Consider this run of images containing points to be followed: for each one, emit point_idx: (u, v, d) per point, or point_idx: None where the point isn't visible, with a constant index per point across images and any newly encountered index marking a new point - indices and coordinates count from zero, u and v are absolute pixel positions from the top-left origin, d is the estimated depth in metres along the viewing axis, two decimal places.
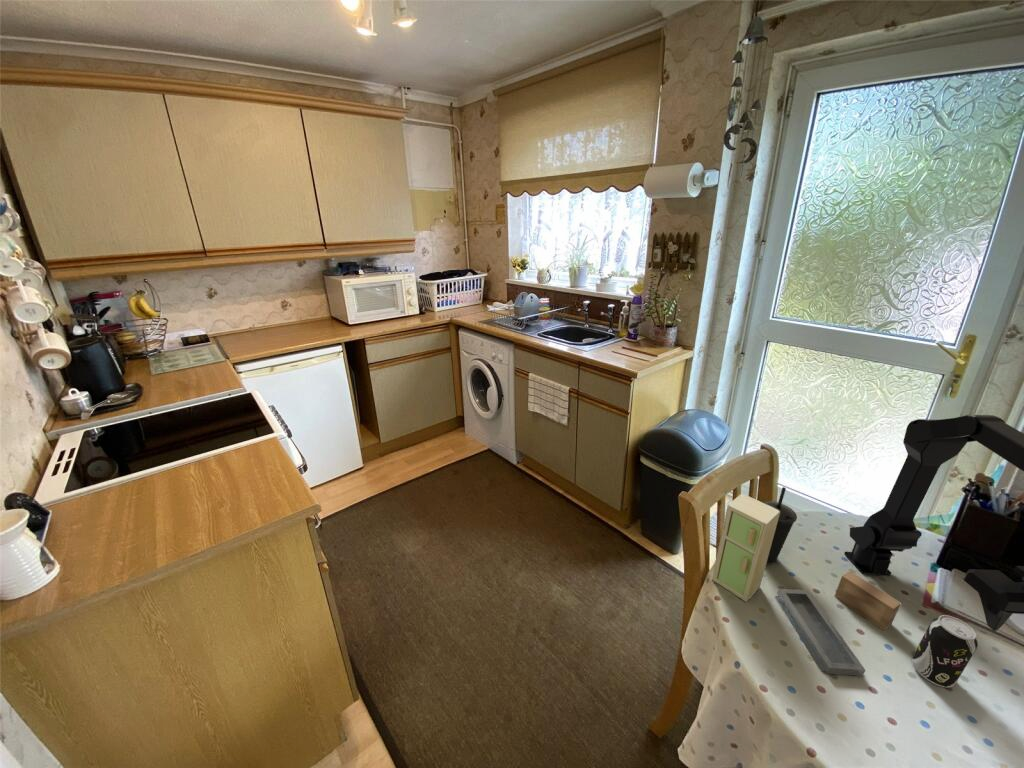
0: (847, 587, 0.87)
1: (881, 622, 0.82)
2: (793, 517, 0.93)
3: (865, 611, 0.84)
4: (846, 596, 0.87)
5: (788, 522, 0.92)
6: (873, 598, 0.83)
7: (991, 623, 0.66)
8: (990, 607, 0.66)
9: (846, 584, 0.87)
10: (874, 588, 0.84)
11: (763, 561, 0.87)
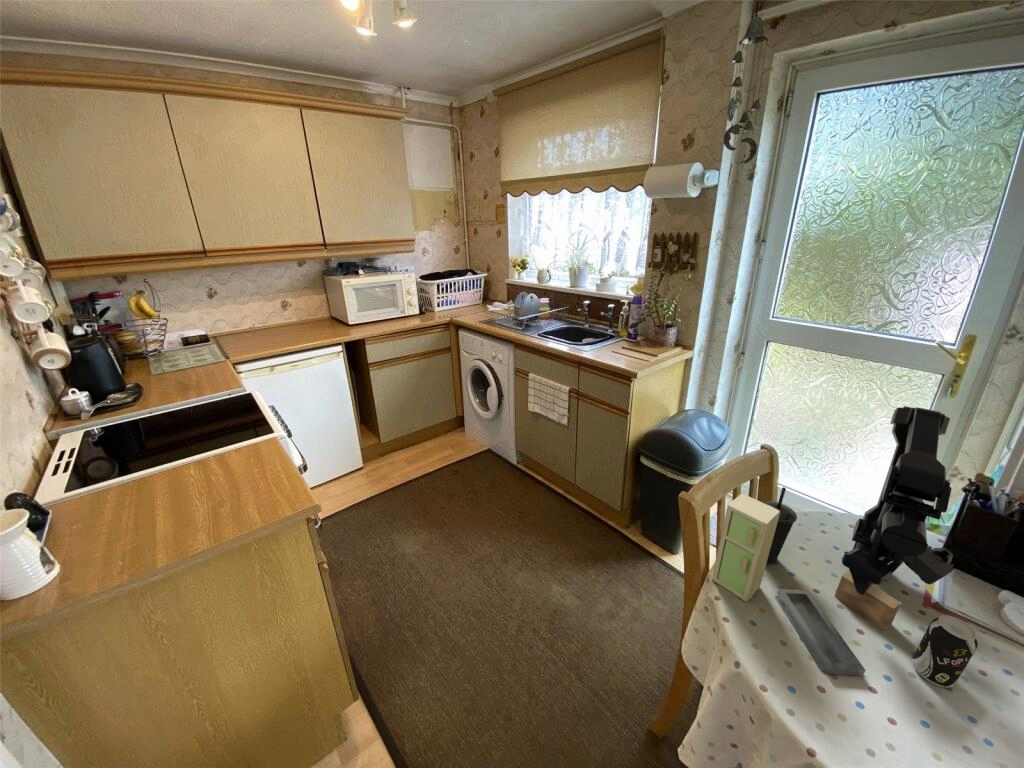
0: (847, 586, 0.87)
1: (881, 622, 0.82)
2: (793, 517, 0.93)
3: (865, 611, 0.84)
4: (846, 596, 0.87)
5: (788, 522, 0.92)
6: (873, 598, 0.83)
7: (860, 590, 0.81)
8: (859, 579, 0.80)
9: (846, 584, 0.87)
10: (874, 588, 0.84)
11: (763, 561, 0.87)
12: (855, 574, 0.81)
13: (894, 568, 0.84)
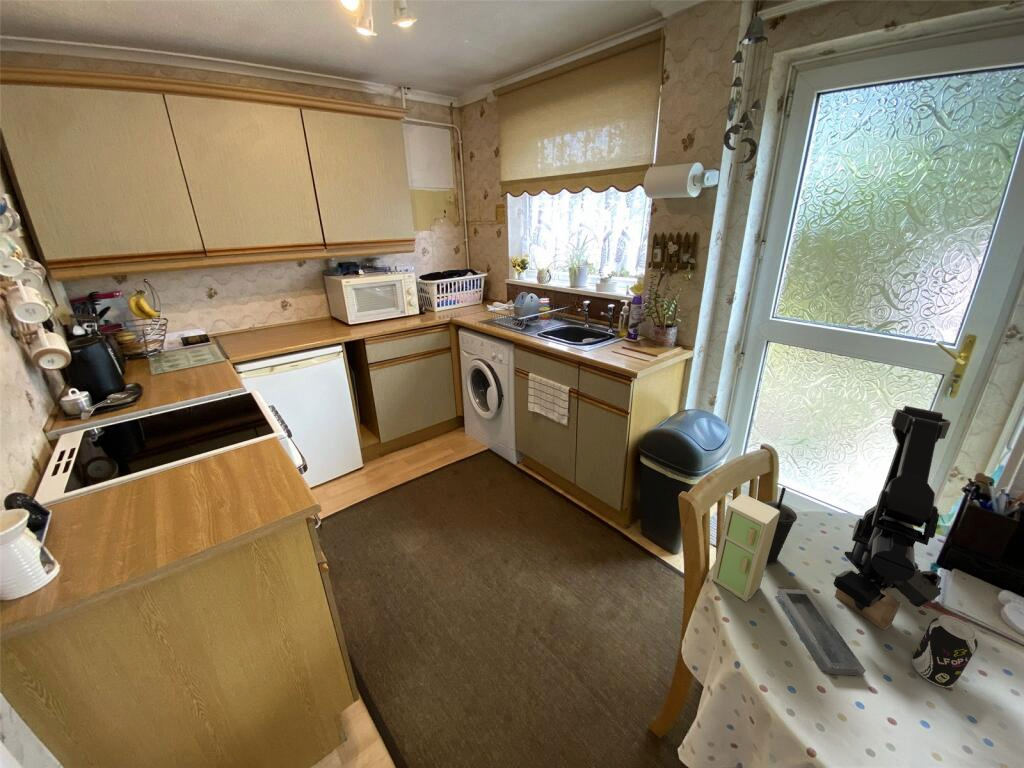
0: None
1: (881, 622, 0.82)
2: (793, 517, 0.93)
3: (865, 611, 0.84)
4: (846, 596, 0.87)
5: (788, 522, 0.92)
6: None
7: (859, 606, 0.84)
8: None
9: None
10: None
11: (763, 561, 0.87)
12: None
13: None
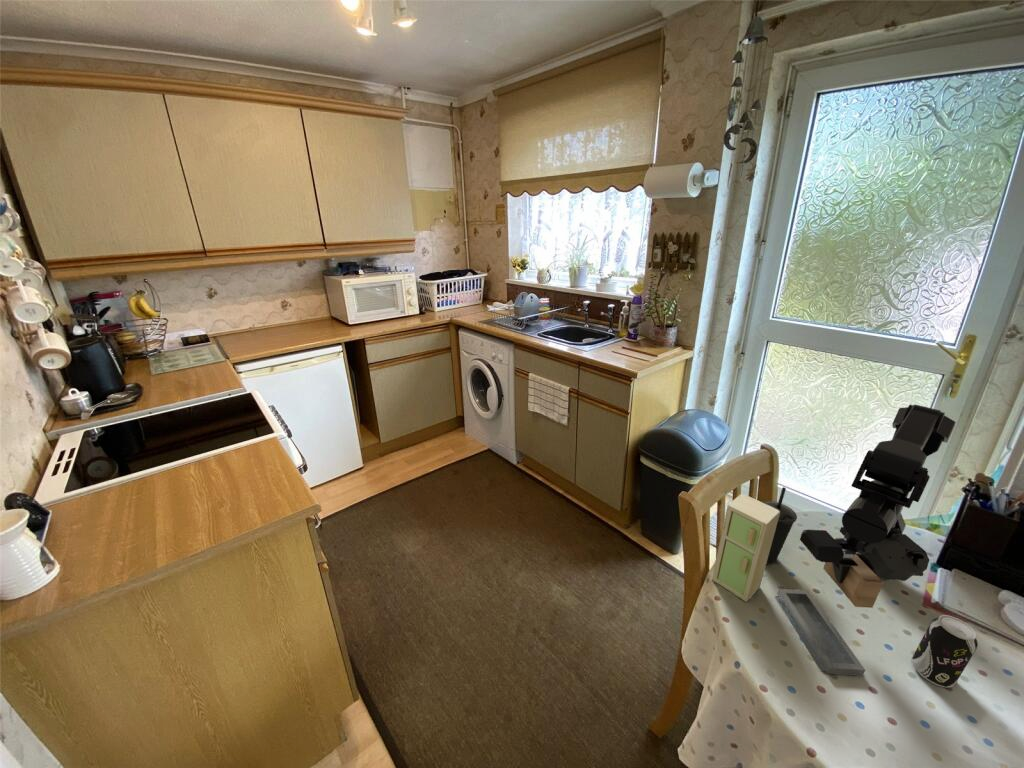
0: None
1: (854, 597, 0.75)
2: (793, 517, 0.93)
3: (843, 585, 0.77)
4: (832, 568, 0.80)
5: (788, 522, 0.92)
6: (851, 569, 0.76)
7: (838, 577, 0.78)
8: (836, 563, 0.77)
9: None
10: (862, 564, 0.76)
11: (763, 561, 0.87)
12: None
13: None
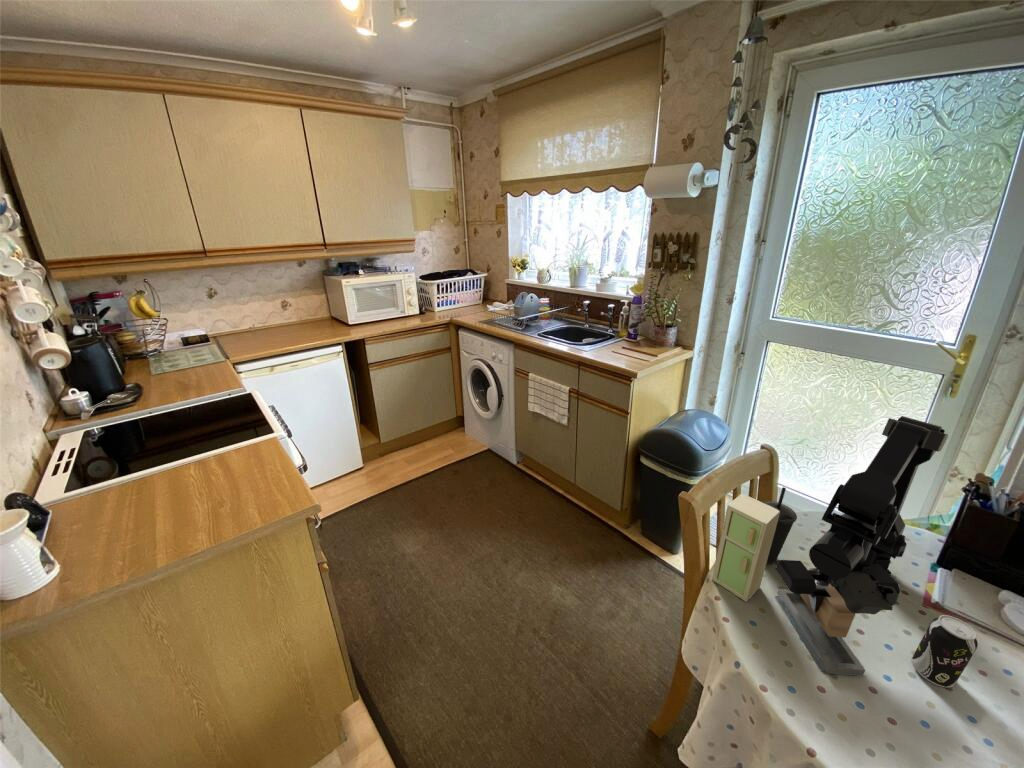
0: None
1: (828, 627, 0.76)
2: (793, 517, 0.93)
3: (818, 613, 0.79)
4: (808, 595, 0.82)
5: (788, 522, 0.92)
6: (825, 599, 0.77)
7: (813, 606, 0.79)
8: None
9: None
10: (836, 594, 0.77)
11: (763, 561, 0.87)
12: None
13: None
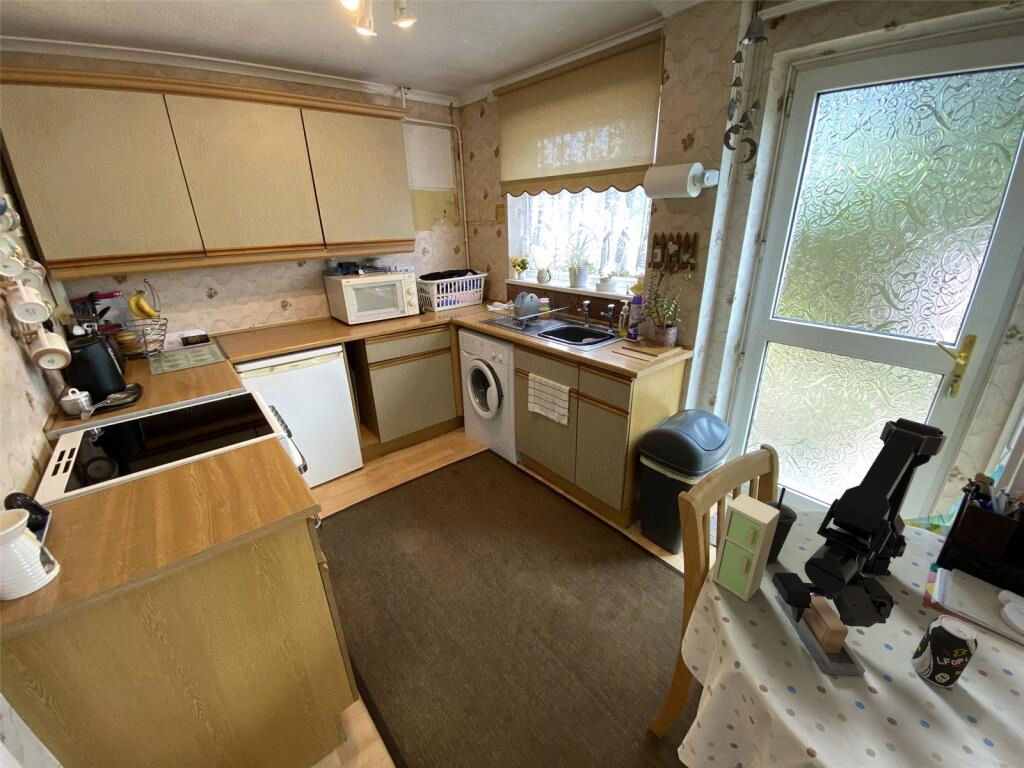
0: None
1: (822, 643, 0.77)
2: (793, 517, 0.93)
3: (812, 629, 0.80)
4: None
5: (788, 522, 0.92)
6: (819, 616, 0.78)
7: (794, 617, 0.80)
8: None
9: None
10: (829, 610, 0.79)
11: (763, 561, 0.87)
12: None
13: None
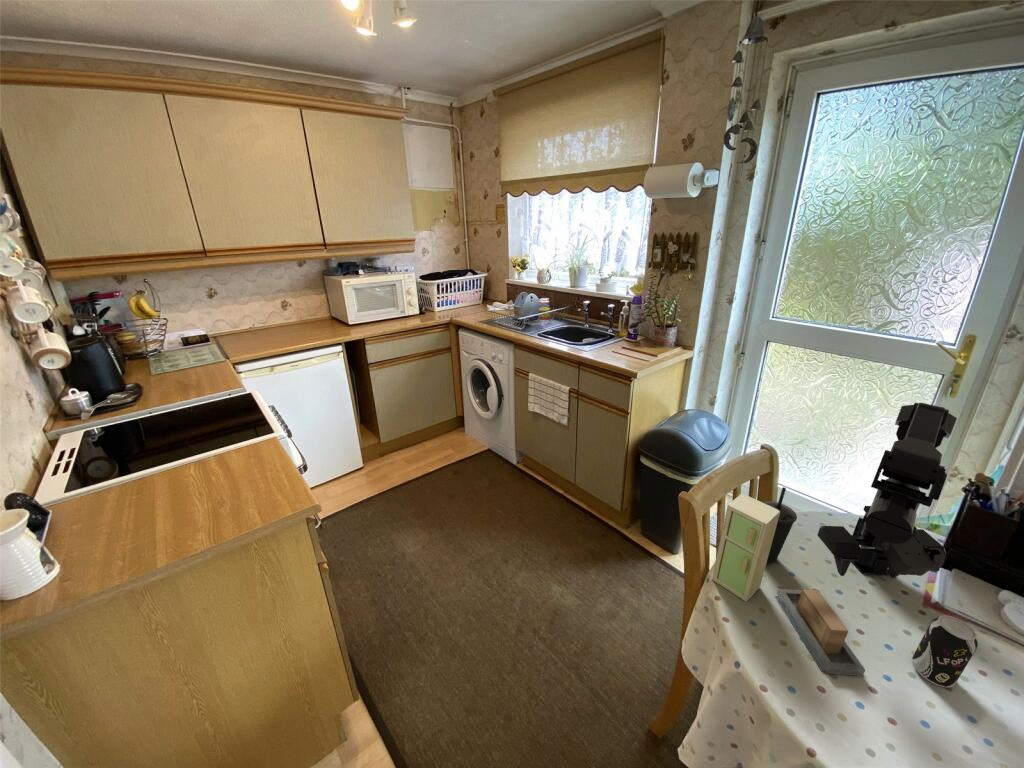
0: (804, 601, 0.83)
1: (822, 643, 0.77)
2: (793, 517, 0.93)
3: (812, 629, 0.80)
4: (802, 611, 0.83)
5: (788, 522, 0.92)
6: (819, 616, 0.78)
7: (839, 570, 0.80)
8: (837, 557, 0.80)
9: (804, 598, 0.83)
10: (829, 610, 0.79)
11: (763, 561, 0.87)
12: None
13: None
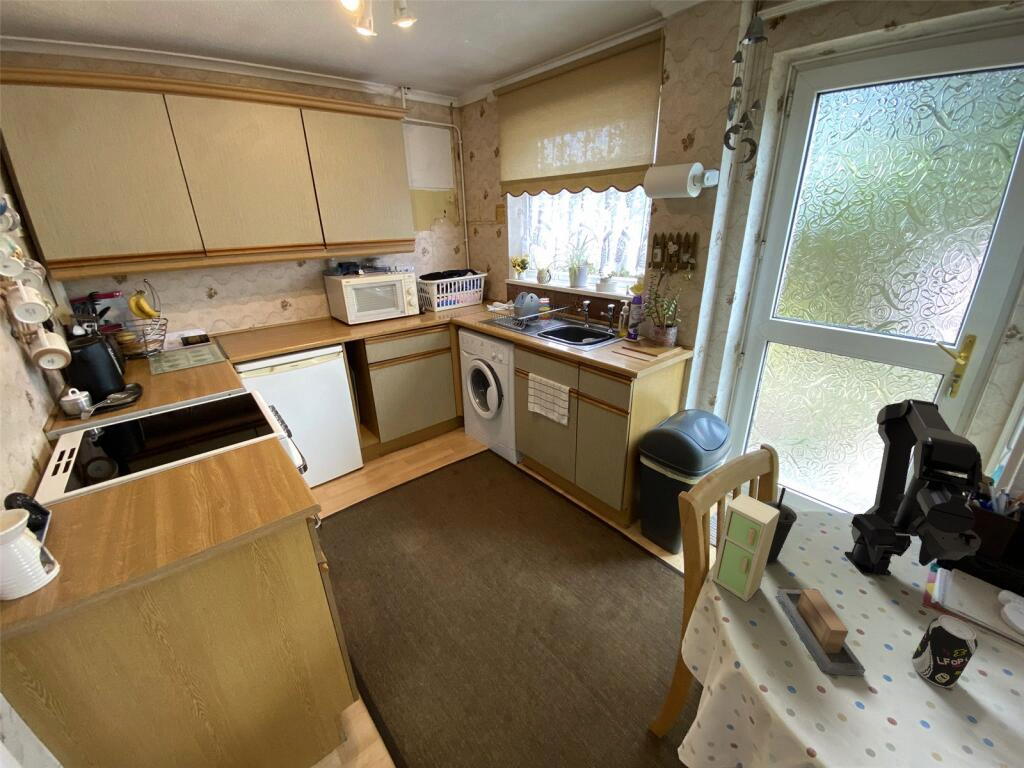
0: (804, 601, 0.83)
1: (822, 643, 0.77)
2: (793, 517, 0.93)
3: (812, 629, 0.80)
4: (802, 611, 0.83)
5: (788, 522, 0.92)
6: (819, 616, 0.78)
7: (872, 558, 0.82)
8: (871, 545, 0.82)
9: (804, 598, 0.83)
10: (829, 610, 0.79)
11: (763, 561, 0.87)
12: (868, 539, 0.82)
13: (931, 555, 0.80)
